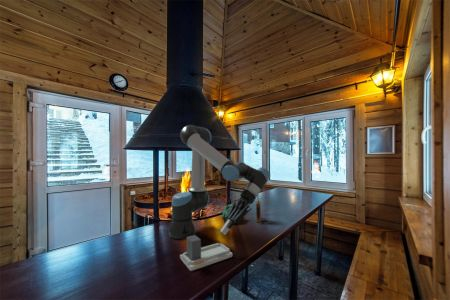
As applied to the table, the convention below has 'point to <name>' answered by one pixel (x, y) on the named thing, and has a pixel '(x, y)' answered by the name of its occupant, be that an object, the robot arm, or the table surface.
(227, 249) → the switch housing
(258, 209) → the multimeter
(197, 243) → the switch tab
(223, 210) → the mineral
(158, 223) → the table surface
